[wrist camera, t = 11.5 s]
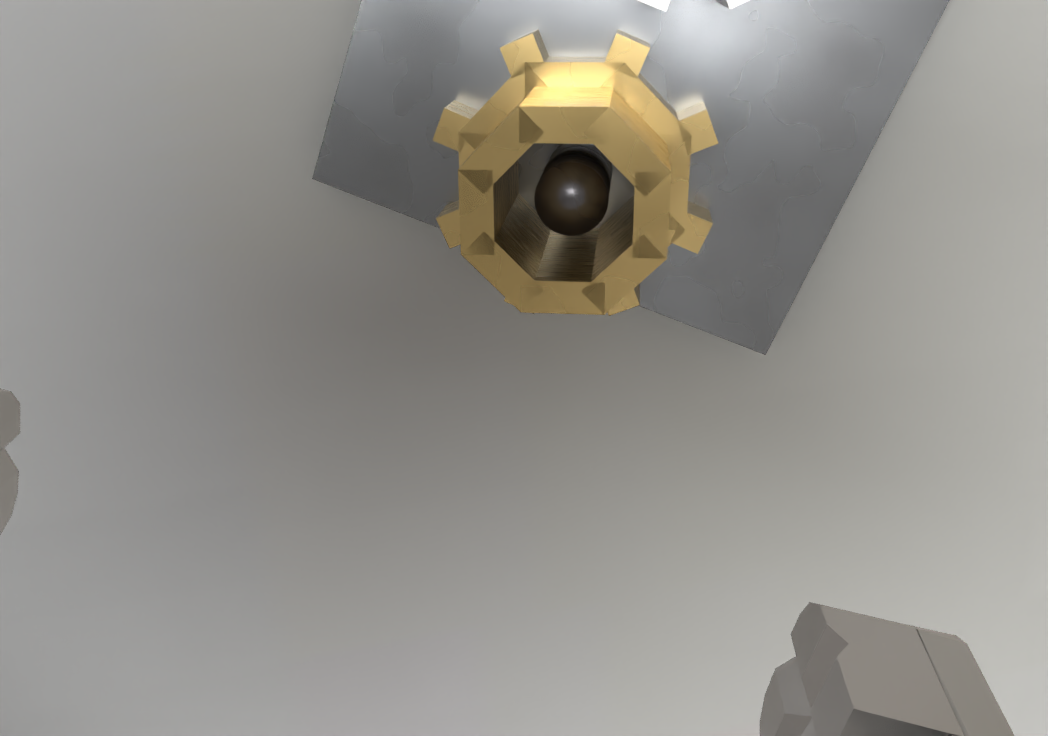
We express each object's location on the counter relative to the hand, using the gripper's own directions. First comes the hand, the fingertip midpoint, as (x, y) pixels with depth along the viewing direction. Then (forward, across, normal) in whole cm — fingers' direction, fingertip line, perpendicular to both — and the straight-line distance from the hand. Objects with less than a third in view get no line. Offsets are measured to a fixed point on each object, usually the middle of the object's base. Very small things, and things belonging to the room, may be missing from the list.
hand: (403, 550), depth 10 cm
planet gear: (+18, -1, 0) cm, 19 cm away
